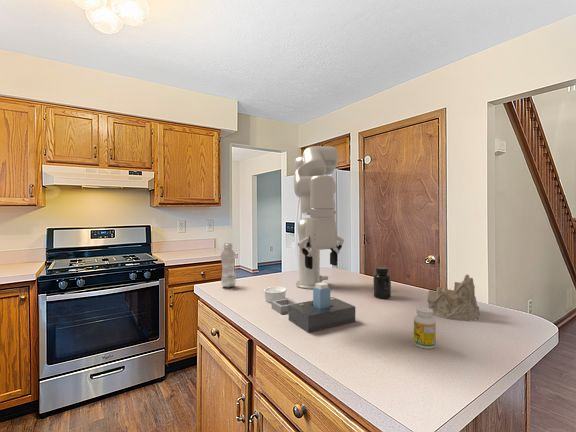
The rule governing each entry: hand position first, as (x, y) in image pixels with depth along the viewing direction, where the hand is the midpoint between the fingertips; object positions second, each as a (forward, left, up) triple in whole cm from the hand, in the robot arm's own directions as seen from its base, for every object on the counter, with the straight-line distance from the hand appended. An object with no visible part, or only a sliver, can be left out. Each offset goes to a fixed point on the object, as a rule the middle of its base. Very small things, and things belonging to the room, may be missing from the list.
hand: (321, 266), depth 103 cm
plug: (0, +1, -18) cm, 18 cm away
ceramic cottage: (-45, +16, -18) cm, 51 cm away
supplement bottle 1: (-37, -9, -18) cm, 42 cm away
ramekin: (+3, -27, -18) cm, 33 cm away
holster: (+5, -15, -18) cm, 24 cm away
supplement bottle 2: (-14, +29, -18) cm, 36 cm away
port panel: (0, +1, -18) cm, 18 cm away
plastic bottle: (+13, -55, -18) cm, 60 cm away
